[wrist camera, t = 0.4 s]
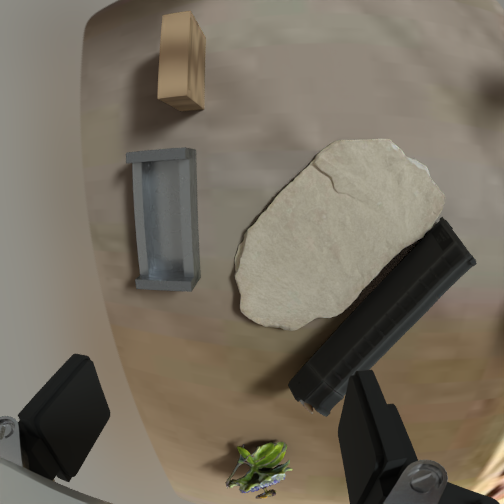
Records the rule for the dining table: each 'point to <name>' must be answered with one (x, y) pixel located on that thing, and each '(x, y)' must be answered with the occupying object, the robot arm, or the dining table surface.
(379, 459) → the robot arm
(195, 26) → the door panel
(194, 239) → the grey open holder
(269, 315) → the stone tablet
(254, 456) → the green leafy plant
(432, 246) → the magazine
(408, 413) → the dining table surface
